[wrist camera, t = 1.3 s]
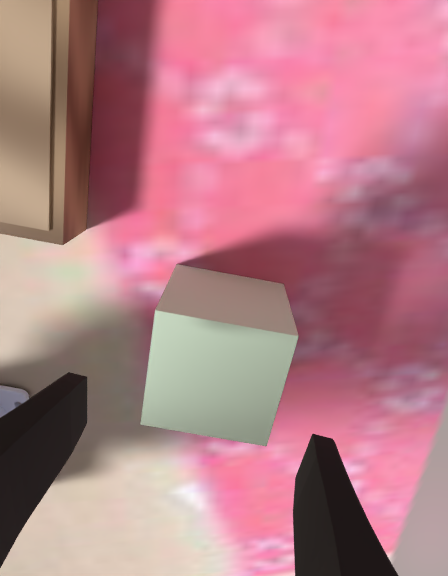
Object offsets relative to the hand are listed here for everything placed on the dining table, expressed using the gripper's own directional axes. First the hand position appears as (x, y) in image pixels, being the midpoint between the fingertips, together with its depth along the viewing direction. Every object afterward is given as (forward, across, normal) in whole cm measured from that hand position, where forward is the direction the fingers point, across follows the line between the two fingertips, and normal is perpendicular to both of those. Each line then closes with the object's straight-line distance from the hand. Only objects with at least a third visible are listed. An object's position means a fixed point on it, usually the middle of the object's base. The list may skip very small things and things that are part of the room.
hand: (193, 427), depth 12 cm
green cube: (+10, 0, +3) cm, 11 cm away
